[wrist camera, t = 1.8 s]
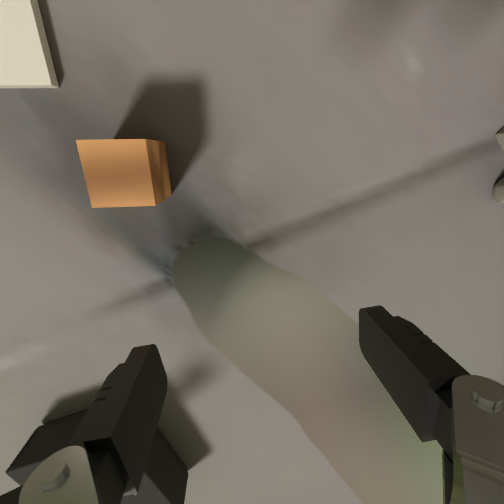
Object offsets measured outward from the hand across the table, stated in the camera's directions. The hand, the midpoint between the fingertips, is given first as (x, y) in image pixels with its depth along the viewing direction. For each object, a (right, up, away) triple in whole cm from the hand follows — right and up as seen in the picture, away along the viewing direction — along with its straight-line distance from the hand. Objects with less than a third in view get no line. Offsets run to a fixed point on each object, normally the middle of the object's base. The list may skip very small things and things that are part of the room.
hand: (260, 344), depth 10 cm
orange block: (-11, +12, +16) cm, 22 cm away
